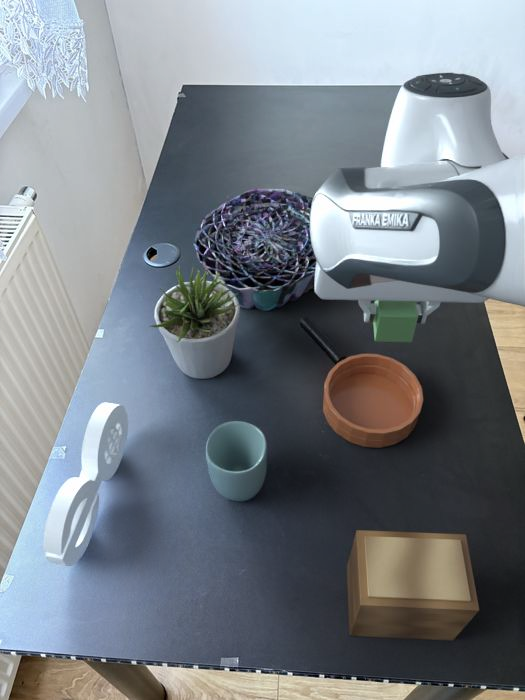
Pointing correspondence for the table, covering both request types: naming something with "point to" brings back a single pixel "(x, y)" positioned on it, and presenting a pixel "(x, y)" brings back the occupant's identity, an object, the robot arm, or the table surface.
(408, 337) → the block
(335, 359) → the pan handle
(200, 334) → the potted plant
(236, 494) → the cup
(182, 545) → the table surface
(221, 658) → the table surface
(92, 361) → the table surface
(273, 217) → the decorative bowl
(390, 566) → the box
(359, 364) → the pan
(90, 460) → the white lobed panel
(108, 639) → the table surface
